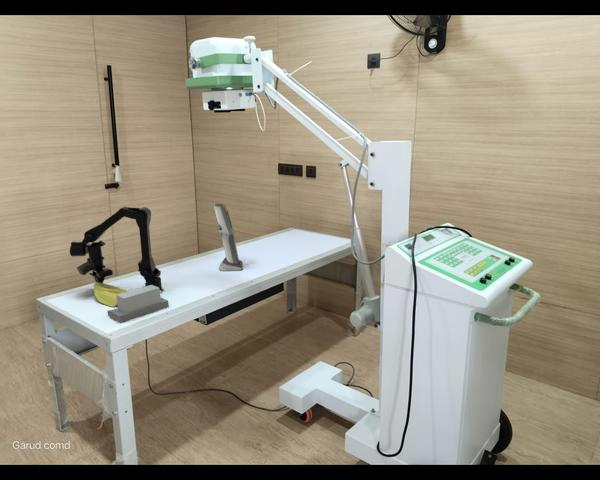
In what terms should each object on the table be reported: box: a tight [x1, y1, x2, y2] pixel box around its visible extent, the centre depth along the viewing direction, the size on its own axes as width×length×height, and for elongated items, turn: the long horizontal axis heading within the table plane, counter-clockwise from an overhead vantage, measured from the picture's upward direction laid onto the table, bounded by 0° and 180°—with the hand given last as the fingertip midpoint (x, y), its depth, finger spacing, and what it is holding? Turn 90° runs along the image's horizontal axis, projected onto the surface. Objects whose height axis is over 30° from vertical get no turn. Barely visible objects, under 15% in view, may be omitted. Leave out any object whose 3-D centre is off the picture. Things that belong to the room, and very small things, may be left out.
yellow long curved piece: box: [93, 281, 128, 308], centre depth 216 cm, size 20×7×10 cm
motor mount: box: [106, 285, 170, 324], centre depth 200 cm, size 22×12×9 cm, turn 137°
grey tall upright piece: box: [213, 203, 244, 272], centre depth 255 cm, size 12×13×35 cm
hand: (99, 287), depth 224 cm, fingers closed
